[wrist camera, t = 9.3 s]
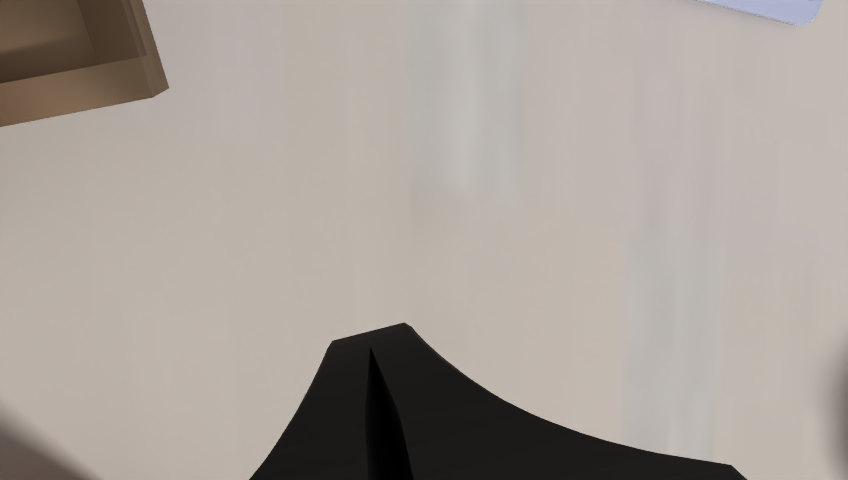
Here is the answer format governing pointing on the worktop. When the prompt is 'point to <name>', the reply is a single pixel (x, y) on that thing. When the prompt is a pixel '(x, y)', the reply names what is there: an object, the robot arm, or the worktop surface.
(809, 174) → the worktop surface
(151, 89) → the beam
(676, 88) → the worktop surface
